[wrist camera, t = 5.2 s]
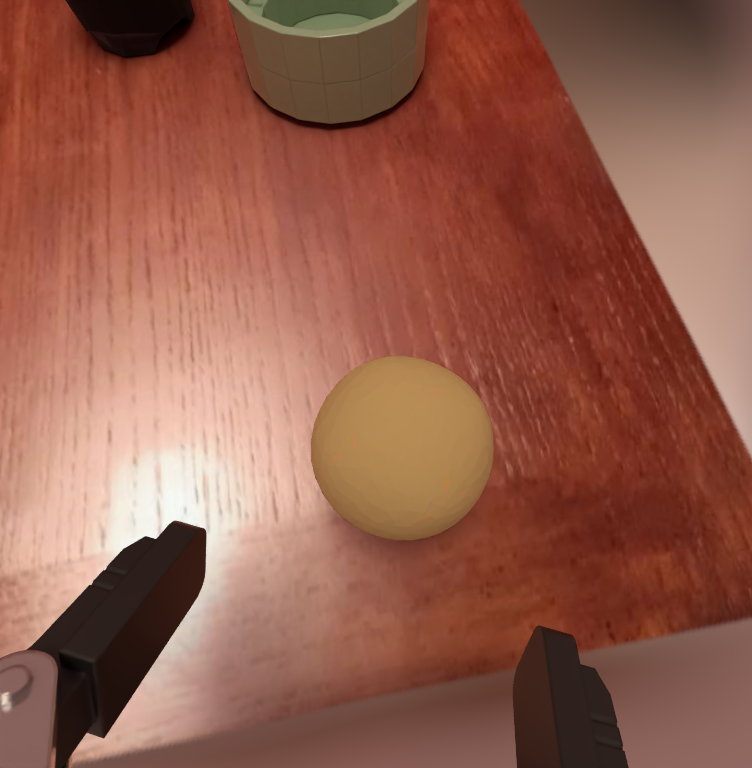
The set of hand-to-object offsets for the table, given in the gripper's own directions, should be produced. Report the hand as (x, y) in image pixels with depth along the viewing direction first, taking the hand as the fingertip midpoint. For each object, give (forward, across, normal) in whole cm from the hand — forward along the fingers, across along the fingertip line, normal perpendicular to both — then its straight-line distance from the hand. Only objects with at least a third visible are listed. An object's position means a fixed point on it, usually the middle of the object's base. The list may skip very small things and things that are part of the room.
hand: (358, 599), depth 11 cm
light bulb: (+12, 0, +5) cm, 13 cm away
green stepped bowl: (+30, +11, -14) cm, 36 cm away
